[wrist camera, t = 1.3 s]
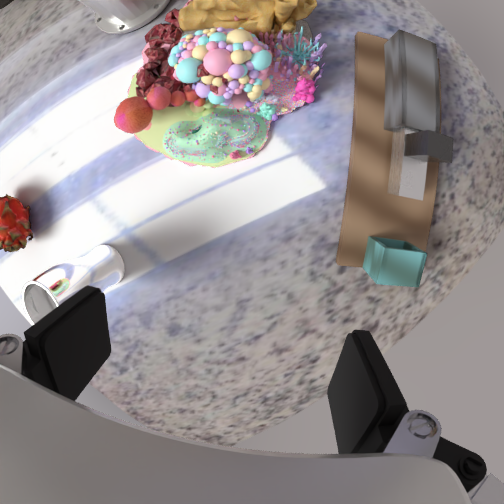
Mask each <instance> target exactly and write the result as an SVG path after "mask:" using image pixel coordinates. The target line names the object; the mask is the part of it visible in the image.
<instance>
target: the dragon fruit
mask: <svg viewBox="0 0 504 504" xmlns="http://www.w3.org/2000/svg"><path fill="white" fill-rule="evenodd" d="M29 209H30V207H29V206H27V207H26V209H25V208H24V207H23V205H22V203H21V202H20V201H19V200H18V199H16V198H14V197H11V196H8V195H7V194H6V196H4V197H0V250H1V249H3V248H4V251H5V252H7V251H9V252H14V251H18V250H19V249H20V248H22V249H24V248H25V247H26V244H27V240H26V238H27V236H31V238H29V239H28V240H32V238H33V233H32V231H31V229H30V228H31V224H30V222H29V215H30V213H29ZM30 210H31V209H30Z"/></svg>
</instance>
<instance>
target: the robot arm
mask: <svg viewBox="0 0 504 504" xmlns="http://www.w3.org/2000/svg"><path fill="white" fill-rule="evenodd" d="M78 1H80V2H81V3H83V4H84V5H85V6H87V7H88V8H90V9H91V10H92V11H94V12H95V23H96V25H97V27H98V28H99V29H100V30H102V31H103V32H105V33H107V34H112V35H119V34H125V33H128V32H131V31H134V30H136V29H138V28H141V27H142V26H144V25H146V24H147V23H149V22H150V21H152V20H153V19H154V18H156V17H157V16H158V15H159V14H160V13H161V12H162V11H163V10H164V8H165V7H166V6H167V4H168V3H169V1H170V0H78ZM24 335H25V338H26V340H25V341H24V342H23V341H22V339H21V338H20V337H19V336H17V335H14V334H5V335H1V336H0V504H504V483H502V482H501V481H500V480H499V479H498V478H496V477H495V476H494V475H493V474H491V473H490V474H489V475H488V476H487V475H486V470H487V469H486V464H485V462H484V460H483V459H482V458H481V457H480V456H479V455H478V454H476V453H474V452H471V451H469V450H467V449H465V448H463V447H461V446H459V445H456V444H455V443H452V442H450V441H448V440H446V439H444V438H442V437H440V435H441V429H442V428H441V425H440V422H439V421H438V419H437V418H436V417H435V416H434V415H432V414H430V413H429V412H426V411H423V410H413V411H410V412H409V410H408V407H407V404H406V402H405V399H404V397H403V395H402V393H401V391H400V389H399V387H398V385H397V383H396V381H395V379H394V377H393V375H392V373H391V371H390V369H389V368H388V366H387V363H386V361H385V360H384V358H383V356H382V354H381V352H380V350H379V348H378V346H377V344H376V342H375V341H374V339H373V337H372V335H371V333H370V332H369V331H365V330H354V331H353V332H352V333H349V334H348V335H347V337H346V340H345V343H344V346H343V349H342V352H341V354H340V357H339V360H338V363H337V365H336V368H335V371H334V373H333V376H332V379H331V381H330V384H329V386H328V399H329V404H330V409H331V414H332V419H333V424H334V429H335V435H336V440H337V446H338V452H339V454H304V453H283V452H270V451H259V450H251V449H242V448H236V447H229V446H223V445H217V444H211V443H206V442H201V441H196V440H191V439H187V438H183V437H178V436H174V435H170V434H166V433H163V432H159V431H155V430H152V429H149V428H145V427H142V426H138V425H135V424H132V423H129V422H126V421H124V420H121V419H118V418H115V417H112V416H109V415H107V414H104V413H101V412H99V411H96V410H94V409H91V408H89V407H87V406H84V405H82V404H79V403H77V402H75V400H76V399H77V397H78V396H79V395H80V393H81V392H82V391H83V389H84V388H85V387H86V385H87V384H88V383H89V382H90V380H91V379H92V378H93V376H94V375H95V374H96V373H97V371H98V370H99V369H100V367H101V366H102V365H103V364H104V362H105V361H106V360H107V359H108V357H109V356H110V353H111V344H110V337H109V330H108V322H107V313H106V303H105V295H104V293H102V291H101V289H100V288H97V287H93V286H88V285H87V286H85V287H84V288H82V289H81V290H79V291H78V292H77V293H75V294H74V295H73V296H71V297H70V298H68V299H67V300H66V301H64V302H63V303H62V304H60V305H59V306H58V307H56V308H55V309H54V310H52V311H51V312H50V313H48V314H47V315H46V316H44V317H43V318H42V319H40V320H39V321H38V322H37V323H35V324H34V325H33V326H31V327H30V328H29V329H28V330H26V331H25V332H24Z"/></svg>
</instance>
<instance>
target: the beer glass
mask: <svg viewBox="0 0 504 504" xmlns="http://www.w3.org/2000/svg"><path fill="white" fill-rule="evenodd" d="M124 270H125V268H124V262H123V259H122V257H121V255H120V254H119V252H118V251H117V250H116V249H115V248H113V247H111V246H109V245H99V246H97V247H95V248H94V249H93V250H92V251H91V252H90V253H89V254H88V255H86V256H84V257H80V258H76V259H72V260H68V261H64V262H61V263H58V264H56V265H54V266H52V267H50V268H48V269H47V270H45V271H43V272H42V273H40V274H39V275H38V276H36V277H35V278H34V279H32V280H31V281H29V282H28V283H26V284H25V286H24V288H23V292H22V300H23V305H24V308H25V311H26V313H27V316H28V317H29V319H30V321H31V322H32V324H33V325H34V324H35V323H37V322H38V321H39V320H40V319H42V318H43V317H44V316H46V315H47V314H48V313H50V312H51V311H52V310H54V309H55V308H56V307H58V306H59V305H60V304H62V303H63V302H64V301H66V300H67V299H68V298H70V297H71V296H73V295H74V294H75V293H77V292H78V291H79V290H81V289H82V288H84V287H85V286H87V285H88V286H93V287H97V288H100V289H101V291H102V293H103V291H104V290H105V289H107V288H108V287H111V286H113V285H115V284H117V283H119V282H120V281H121V279H122V278H123V275H124Z"/></svg>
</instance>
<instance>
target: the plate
mask: <svg viewBox="0 0 504 504" xmlns="http://www.w3.org/2000/svg"><path fill="white" fill-rule="evenodd" d="M12 1H14V0H0V9H2V8H4V7H5V6H7V5H8V4H9V3H11V2H12Z"/></svg>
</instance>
